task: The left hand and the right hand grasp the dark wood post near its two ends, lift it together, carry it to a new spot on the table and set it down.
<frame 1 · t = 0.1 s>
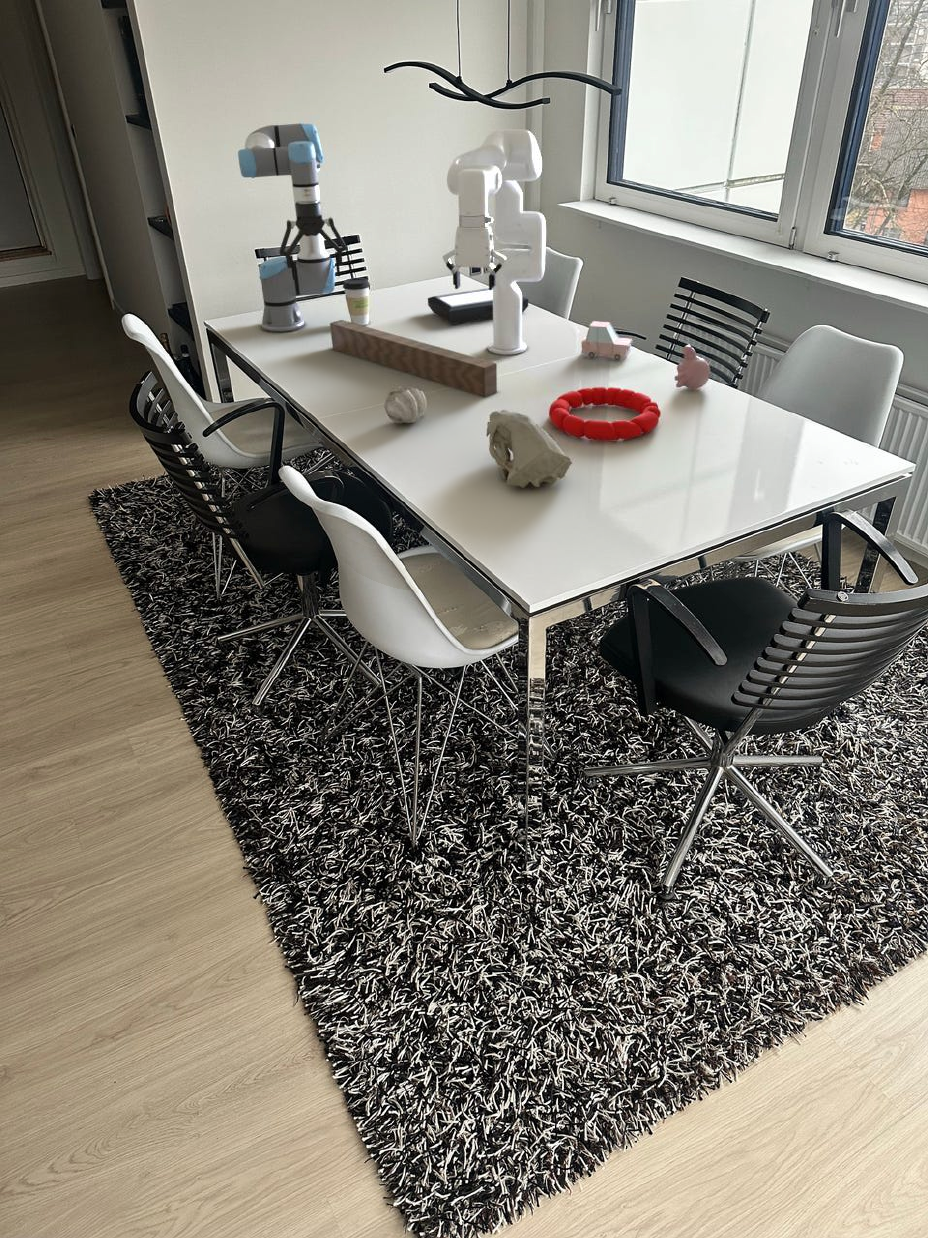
left hand: (316, 276, 273), 28 cm above the table, tool pointing down, fingers open, 13 cm apart
right hand: (474, 288, 244), 31 cm above the table, tool pointing down, fingers open, 9 cm apart
electronic device: (478, 313, 333), on the table
decorative ring: (603, 422, 244), on the table
post: (409, 369, 284), on the table
animal skull: (520, 470, 220), on the table
figurine: (690, 388, 263), on the table
coffee cup: (360, 323, 327), on the table
toy car: (605, 356, 289), on the table
seashell: (407, 422, 247), on the table
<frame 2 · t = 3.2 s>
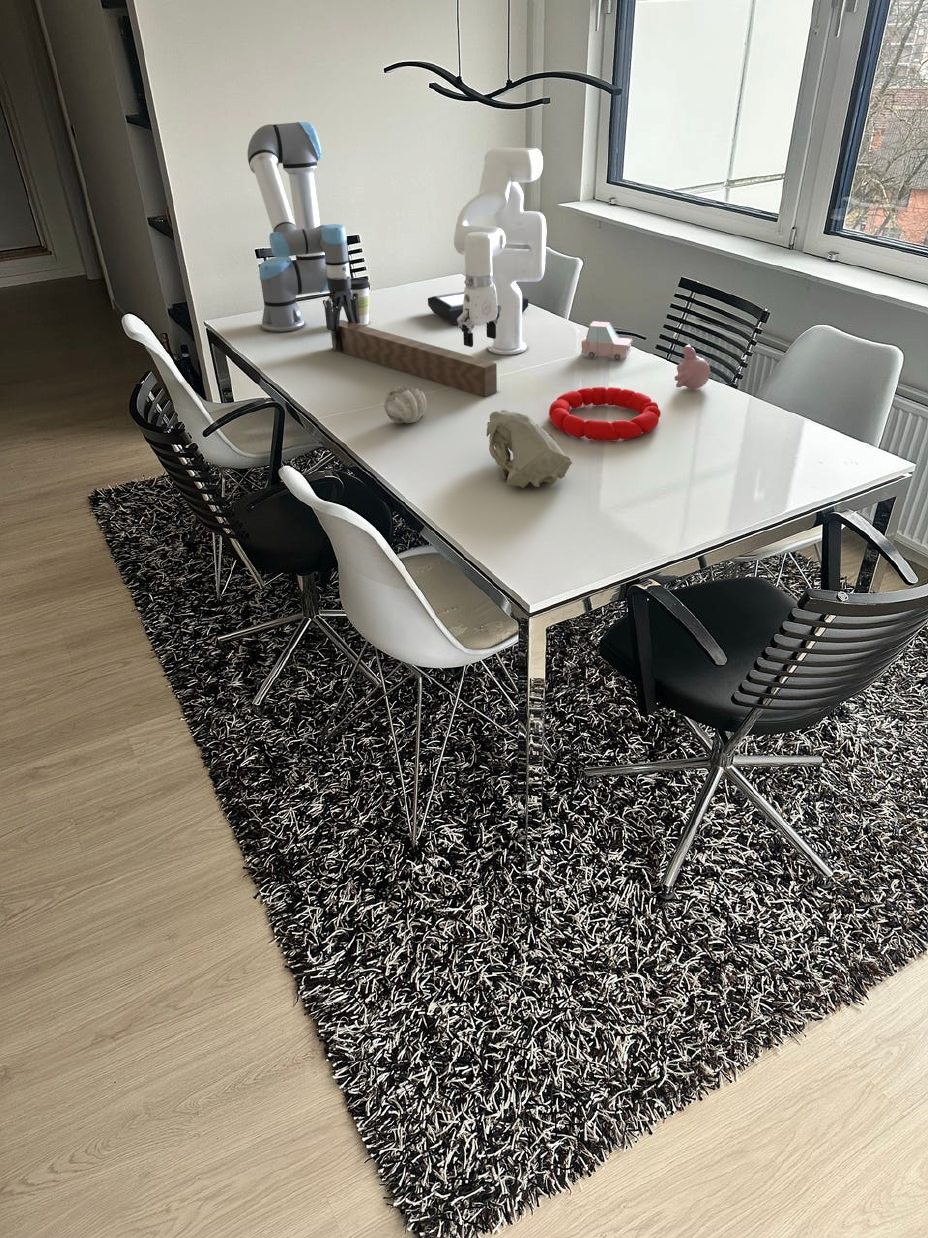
left hand: (346, 347, 302), 1 cm above the table, tool pointing down, fingers closed on post, 5 cm apart
right hand: (480, 341, 258), 15 cm above the table, tool pointing down, fingers open, 9 cm apart
post: (409, 369, 284), on the table, touching left hand
everything else where it was.
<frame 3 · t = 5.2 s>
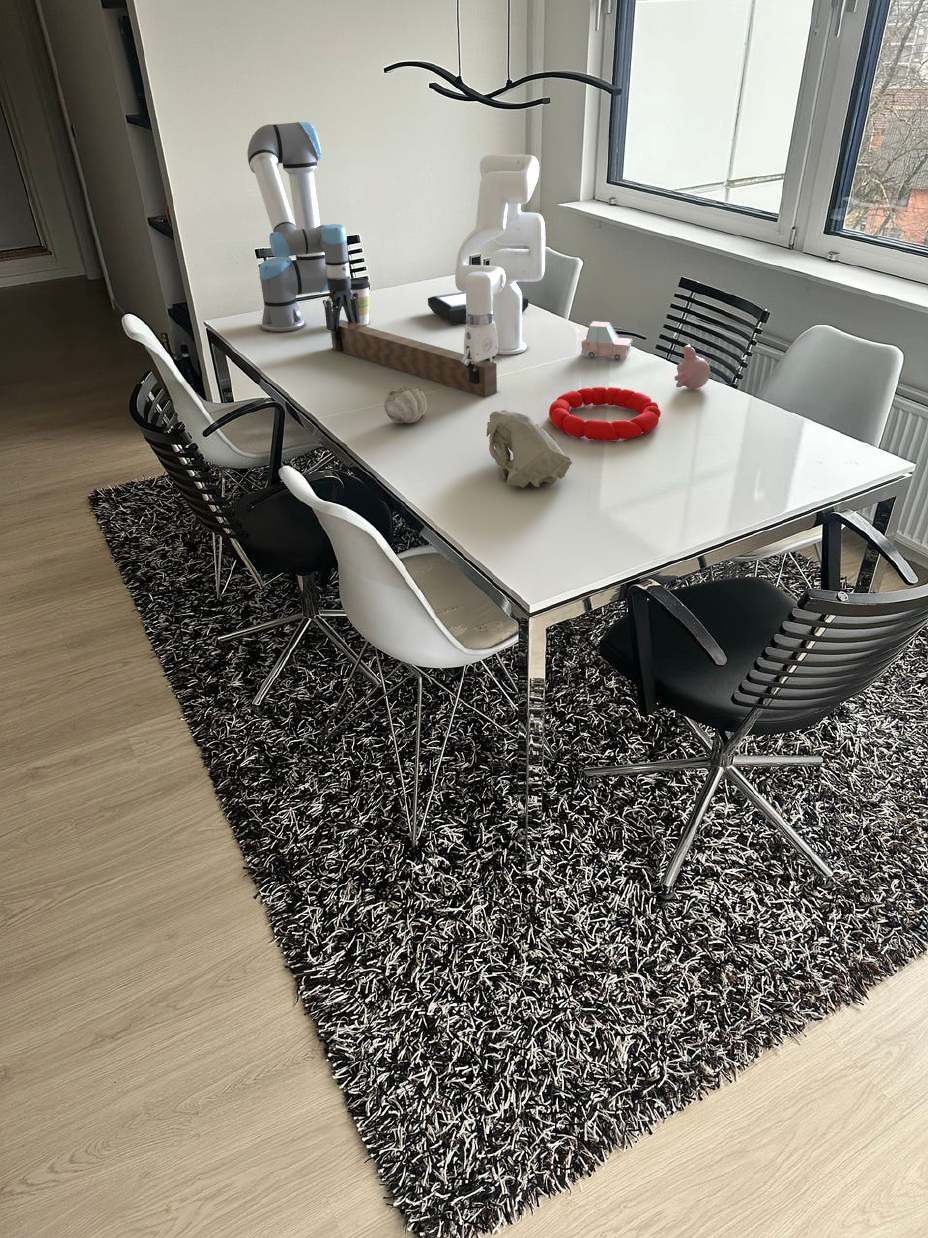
left hand: (346, 347, 302), 1 cm above the table, tool pointing down, fingers closed on post, 5 cm apart
right hand: (480, 379, 264), 4 cm above the table, tool pointing down, fingers closed on post, 5 cm apart
post: (409, 368, 284), on the table, touching left hand, right hand
everything else where it was.
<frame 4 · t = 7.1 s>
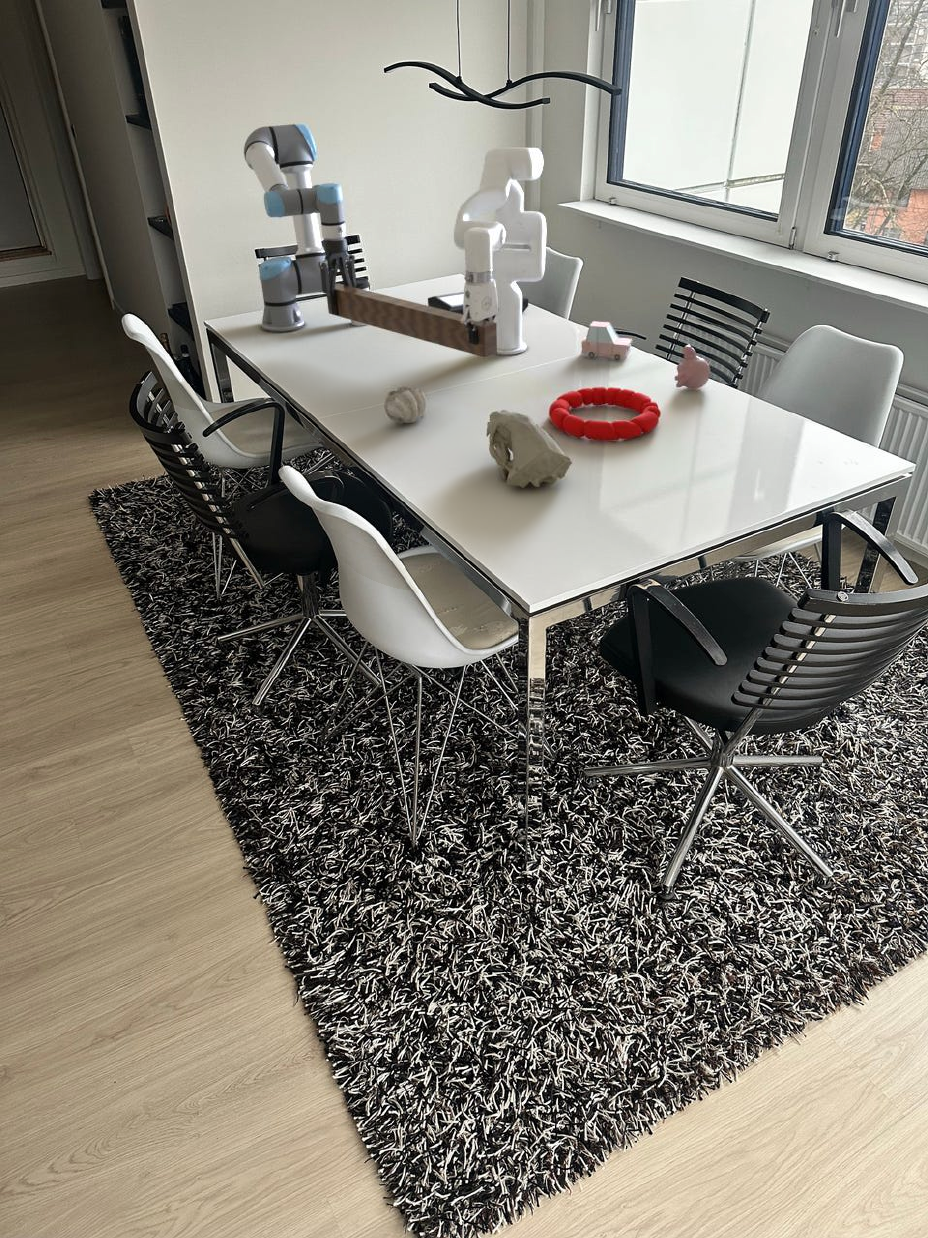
left hand: (342, 312, 296), 12 cm above the table, tool pointing down, fingers closed on post, 5 cm apart
right hand: (480, 340, 258), 15 cm above the table, tool pointing down, fingers closed on post, 5 cm apart
post: (407, 331, 278), point 12 cm above the table, touching left hand, right hand
everything else where it was.
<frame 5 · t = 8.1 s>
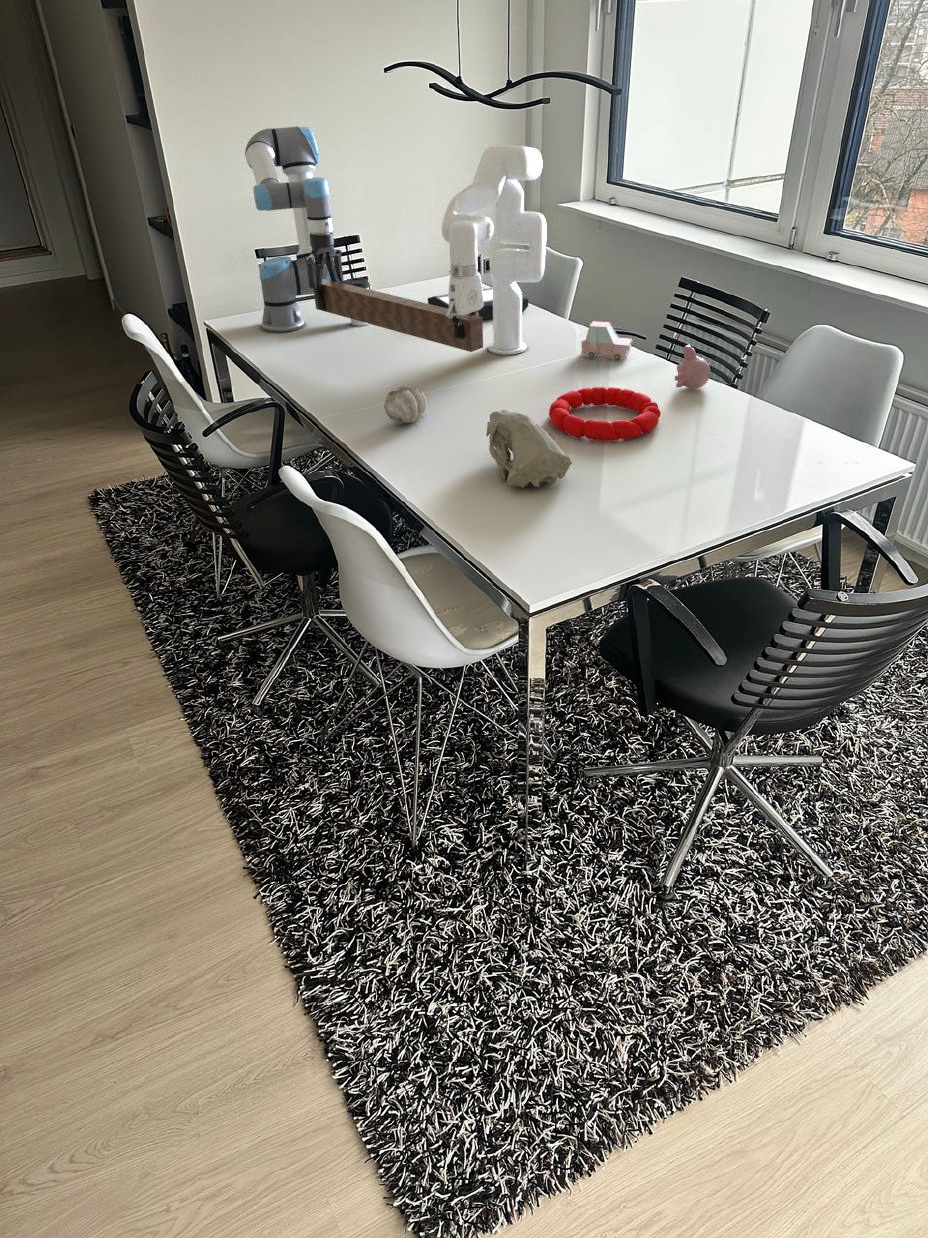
left hand: (329, 307, 294), 14 cm above the table, tool pointing down, fingers closed on post, 5 cm apart
right hand: (466, 334, 257), 17 cm above the table, tool pointing down, fingers closed on post, 5 cm apart
post: (393, 326, 277), point 14 cm above the table, touching left hand, right hand
everything else where it was.
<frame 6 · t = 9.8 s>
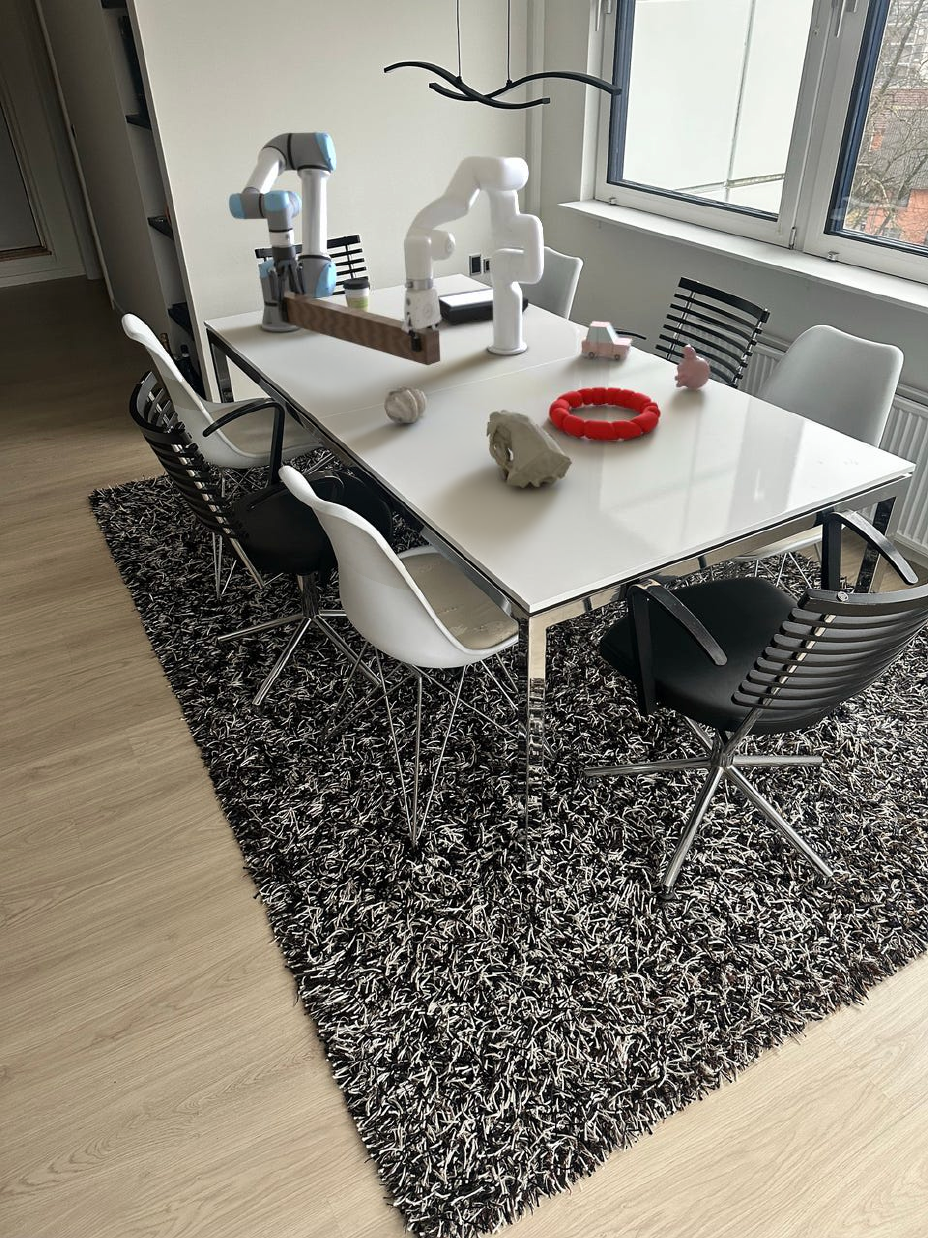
left hand: (292, 319, 295), 11 cm above the table, tool pointing down, fingers closed on post, 5 cm apart
right hand: (423, 348, 257), 14 cm above the table, tool pointing down, fingers closed on post, 5 cm apart
post: (354, 339, 277), point 10 cm above the table, touching left hand, right hand
everything else where it was.
when the left hand's fingers open (2 cm above the table, at t = 11.1 s): post drops 1 cm, on the table.
when the right hand's fingers open (5 cm above the table, at t = 11.2 s): post stays where it is, on the table.
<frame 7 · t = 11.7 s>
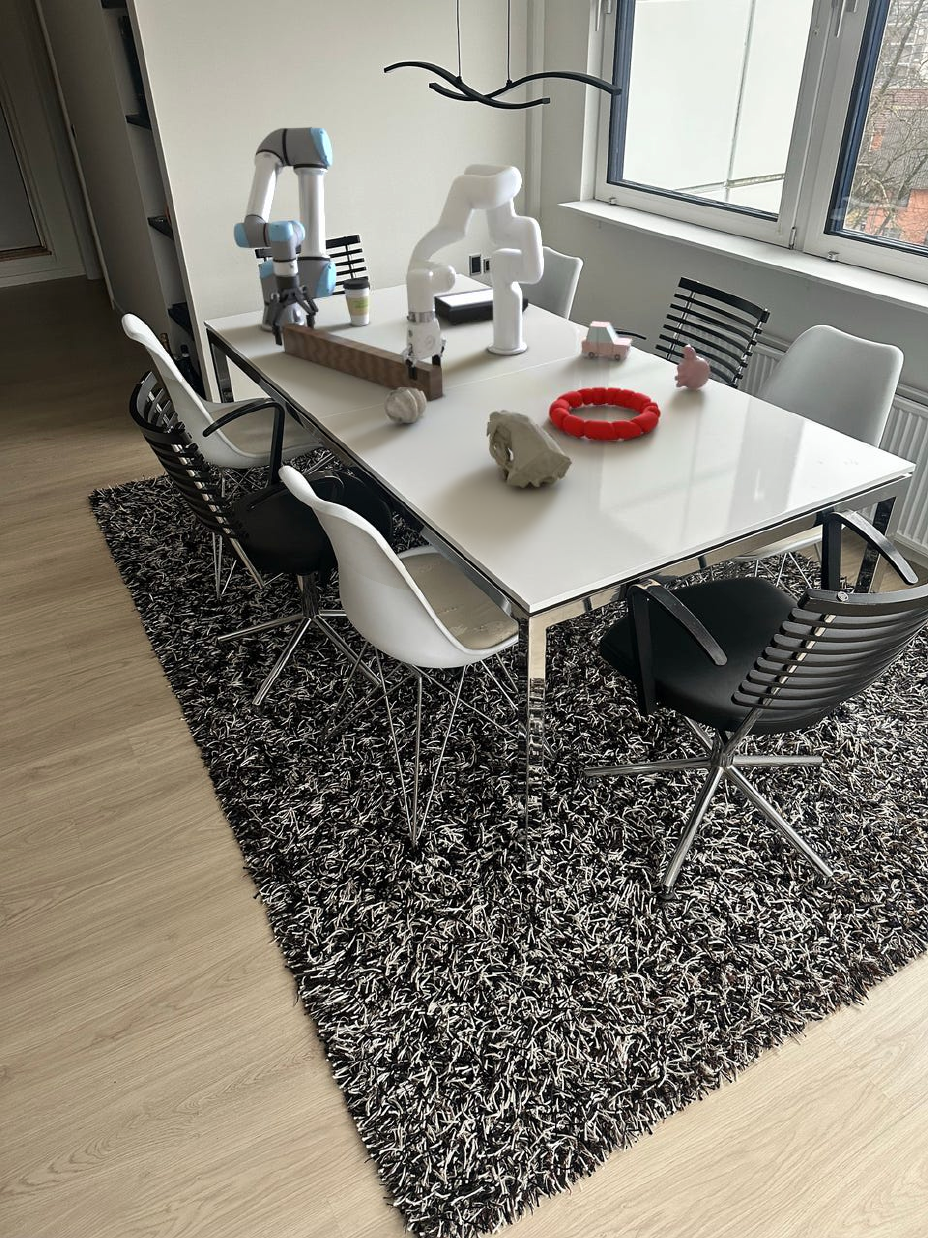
left hand: (295, 339, 299), 4 cm above the table, tool pointing down, fingers open, 13 cm apart
right hand: (425, 374, 261), 6 cm above the table, tool pointing down, fingers open, 9 cm apart
post: (358, 372, 283), on the table
everything else where it was.
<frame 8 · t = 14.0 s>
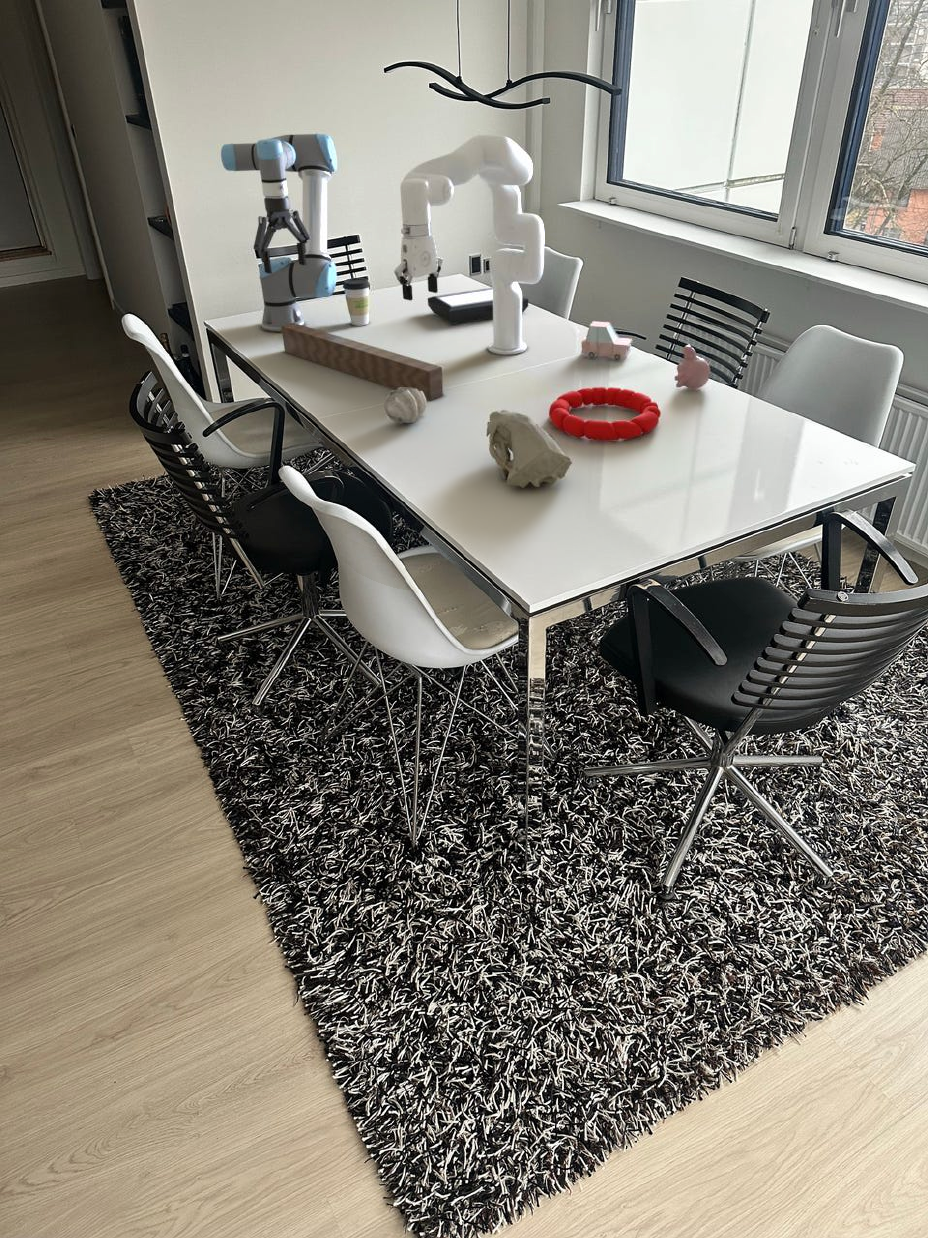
left hand: (285, 268, 286), 27 cm above the table, tool pointing down, fingers open, 13 cm apart
right hand: (420, 295, 248), 29 cm above the table, tool pointing down, fingers open, 9 cm apart
nothing on the table moved.
at the end: post inside the target area (0.4 cm from its centre), on the table; post tilted 0°; post never tilted more than 2° during the clip; both hands held the post at the same time; the left hand is holding nothing; the right hand is holding nothing; post at rest at the end (0.0 cm/s) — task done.
